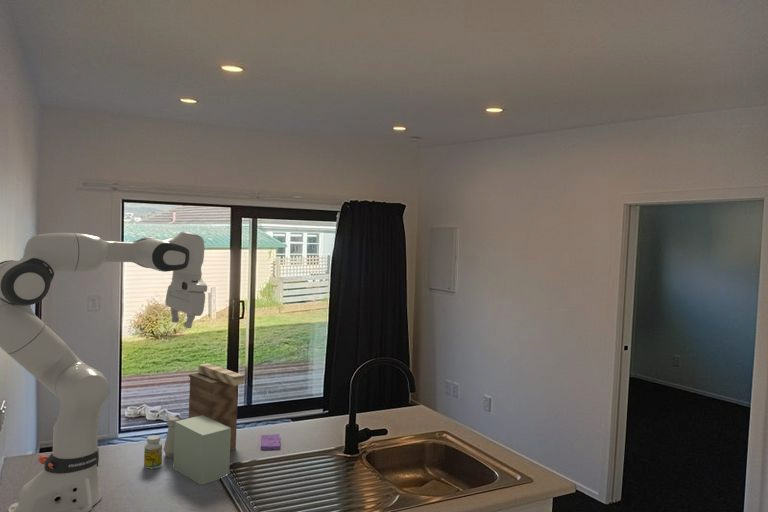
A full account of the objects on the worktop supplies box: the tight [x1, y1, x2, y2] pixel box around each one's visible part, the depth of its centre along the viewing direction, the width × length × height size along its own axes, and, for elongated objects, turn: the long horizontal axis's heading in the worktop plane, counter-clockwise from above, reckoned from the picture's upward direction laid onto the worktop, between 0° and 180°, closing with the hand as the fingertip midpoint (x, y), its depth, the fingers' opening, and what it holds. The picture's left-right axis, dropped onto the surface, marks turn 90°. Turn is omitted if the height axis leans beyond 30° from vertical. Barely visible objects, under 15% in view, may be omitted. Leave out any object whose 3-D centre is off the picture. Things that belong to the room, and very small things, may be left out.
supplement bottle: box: [143, 434, 163, 469], centre depth 183 cm, size 5×5×10 cm
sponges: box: [260, 433, 281, 451], centre depth 208 cm, size 7×13×2 cm, turn 12°
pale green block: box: [172, 415, 231, 486], centre depth 180 cm, size 10×17×16 cm, turn 49°
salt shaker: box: [163, 416, 181, 459], centre depth 192 cm, size 6×6×13 cm
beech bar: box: [197, 363, 245, 386], centre depth 198 cm, size 23×4×3 cm, turn 49°
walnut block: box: [188, 372, 239, 451], centre depth 201 cm, size 12×15×26 cm
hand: (181, 324), depth 179 cm, fingers open, 8 cm apart
